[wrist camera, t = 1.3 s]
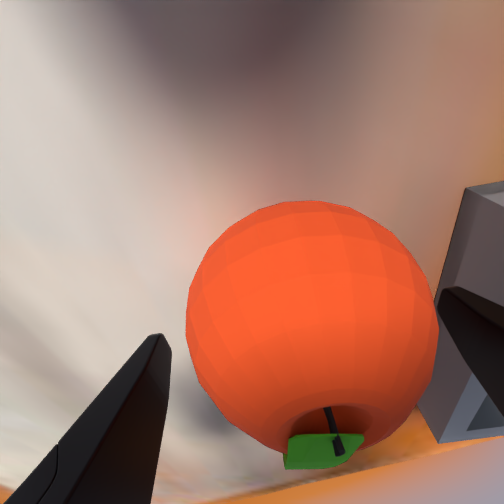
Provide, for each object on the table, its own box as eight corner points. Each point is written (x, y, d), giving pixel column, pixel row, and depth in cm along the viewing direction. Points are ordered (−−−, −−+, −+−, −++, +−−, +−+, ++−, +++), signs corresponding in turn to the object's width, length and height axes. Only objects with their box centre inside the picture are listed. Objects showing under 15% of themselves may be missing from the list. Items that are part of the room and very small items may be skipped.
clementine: (336, 329, 14) (409, 517, 8) (200, 324, 13) (171, 527, 7) (397, 176, 10) (655, 344, 4) (198, 159, 9) (125, 329, 3)
